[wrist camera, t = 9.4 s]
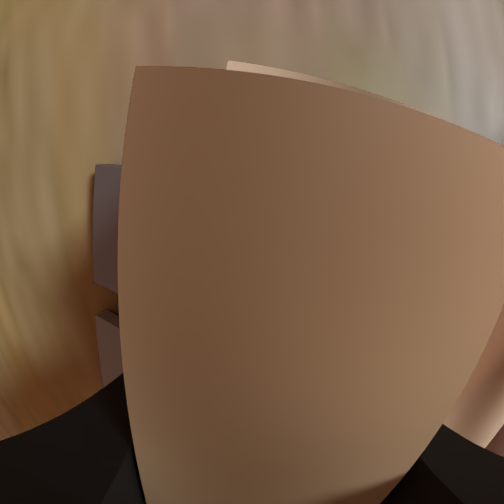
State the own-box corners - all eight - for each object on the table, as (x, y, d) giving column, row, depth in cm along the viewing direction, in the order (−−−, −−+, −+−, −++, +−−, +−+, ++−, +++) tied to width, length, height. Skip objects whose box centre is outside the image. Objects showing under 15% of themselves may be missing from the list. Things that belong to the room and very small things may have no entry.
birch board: (576, 205, 10) (595, 212, 8) (468, 442, 15) (476, 457, 13) (231, 73, 9) (228, 60, 7) (181, 446, 14) (177, 468, 12)
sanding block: (369, 149, 8) (538, 165, 2) (285, 455, 12) (293, 579, 6) (220, 123, 8) (135, 66, 2) (191, 445, 11) (166, 569, 6)
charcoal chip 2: (192, 351, 10) (182, 360, 9) (188, 431, 11) (179, 439, 10) (105, 309, 11) (94, 314, 11) (113, 387, 12) (104, 393, 12)
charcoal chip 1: (212, 178, 8) (199, 179, 8) (197, 316, 9) (186, 323, 9) (109, 164, 10) (95, 164, 9) (105, 277, 11) (93, 282, 10)
